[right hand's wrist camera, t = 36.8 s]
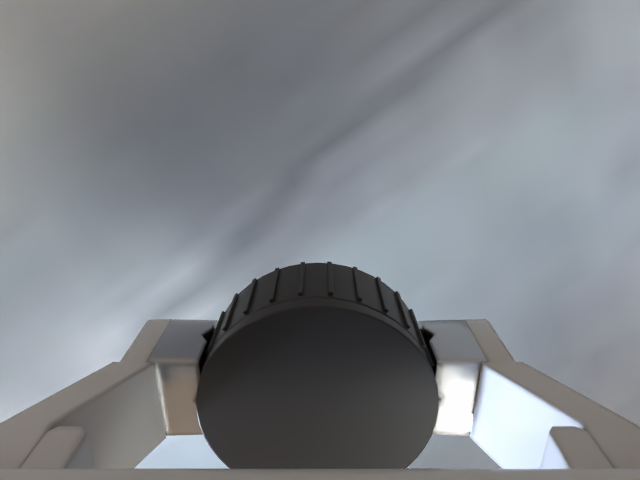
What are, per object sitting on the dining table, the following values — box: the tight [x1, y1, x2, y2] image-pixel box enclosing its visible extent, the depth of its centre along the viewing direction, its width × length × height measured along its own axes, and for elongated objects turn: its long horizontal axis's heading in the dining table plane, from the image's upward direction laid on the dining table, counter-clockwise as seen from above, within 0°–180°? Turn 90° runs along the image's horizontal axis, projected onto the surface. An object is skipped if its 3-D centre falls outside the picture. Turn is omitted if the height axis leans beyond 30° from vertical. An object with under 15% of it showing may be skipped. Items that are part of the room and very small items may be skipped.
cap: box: [196, 262, 439, 469], centre depth 9 cm, size 5×5×2 cm
